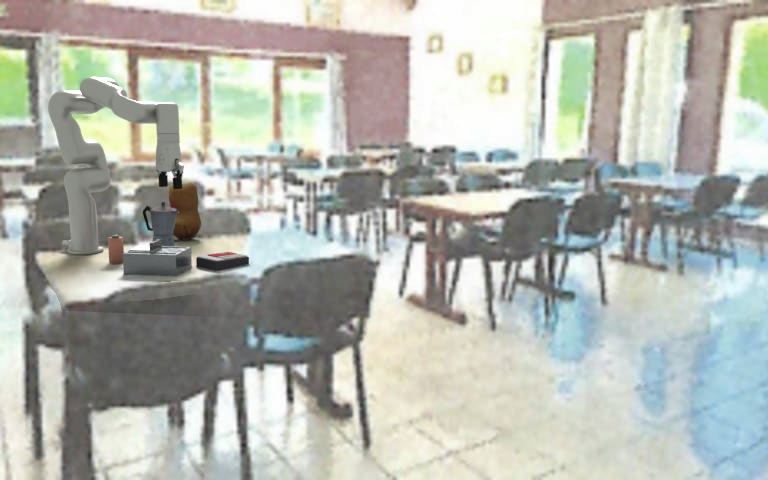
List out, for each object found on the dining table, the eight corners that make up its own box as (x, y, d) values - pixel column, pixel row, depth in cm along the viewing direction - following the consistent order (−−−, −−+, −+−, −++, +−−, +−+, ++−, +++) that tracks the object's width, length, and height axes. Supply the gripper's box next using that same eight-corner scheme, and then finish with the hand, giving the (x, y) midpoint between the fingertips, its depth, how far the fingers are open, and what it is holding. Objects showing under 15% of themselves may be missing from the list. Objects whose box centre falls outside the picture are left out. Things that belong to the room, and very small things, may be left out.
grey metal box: (123, 274, 222) (122, 252, 221) (141, 264, 236) (140, 244, 234) (176, 276, 221) (175, 254, 219) (191, 266, 234) (191, 246, 233)
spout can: (106, 263, 236) (105, 236, 234) (114, 260, 242) (113, 233, 240) (120, 264, 236) (118, 237, 234) (127, 260, 242) (126, 234, 240)
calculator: (249, 254, 240) (217, 259, 228) (249, 266, 241) (216, 271, 228) (228, 250, 246) (195, 255, 234) (228, 262, 247) (195, 267, 235)
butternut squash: (163, 239, 283) (160, 180, 279) (192, 235, 292) (190, 178, 288) (178, 244, 273) (176, 182, 269) (208, 240, 282) (206, 181, 278)
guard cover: (129, 251, 223) (128, 242, 223) (140, 246, 232) (139, 238, 231) (152, 252, 223) (152, 243, 222) (162, 247, 231) (162, 238, 231)
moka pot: (174, 258, 247) (172, 204, 244) (136, 255, 250) (133, 202, 247) (187, 253, 256) (185, 201, 253) (150, 250, 259) (148, 199, 256)
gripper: (146, 138, 236) (148, 186, 239) (171, 139, 224) (173, 190, 228) (165, 137, 241) (167, 185, 245) (191, 139, 230) (193, 189, 233)
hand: (170, 187), depth 236 cm, fingers open, 9 cm apart
